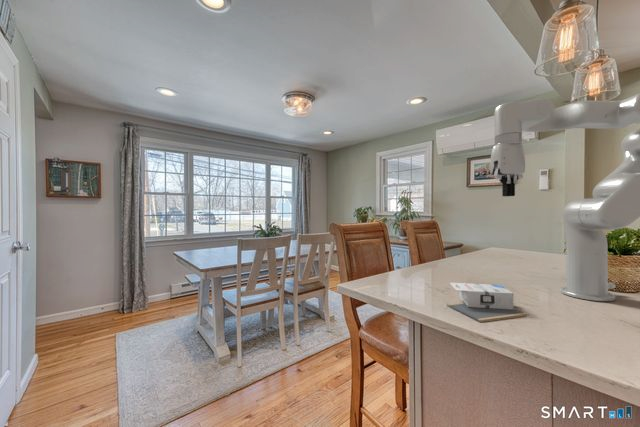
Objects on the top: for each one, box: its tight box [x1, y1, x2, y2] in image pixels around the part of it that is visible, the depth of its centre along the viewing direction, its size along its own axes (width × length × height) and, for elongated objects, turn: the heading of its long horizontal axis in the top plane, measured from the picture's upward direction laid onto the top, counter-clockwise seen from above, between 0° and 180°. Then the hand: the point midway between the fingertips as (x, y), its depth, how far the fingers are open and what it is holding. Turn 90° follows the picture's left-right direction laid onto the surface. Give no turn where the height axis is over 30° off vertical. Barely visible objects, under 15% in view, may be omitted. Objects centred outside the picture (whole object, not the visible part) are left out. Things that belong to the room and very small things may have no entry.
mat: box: [446, 302, 527, 323], centre depth 76 cm, size 15×12×1 cm
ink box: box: [449, 282, 514, 310], centre depth 80 cm, size 9×5×15 cm
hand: (508, 196), depth 90 cm, fingers closed
